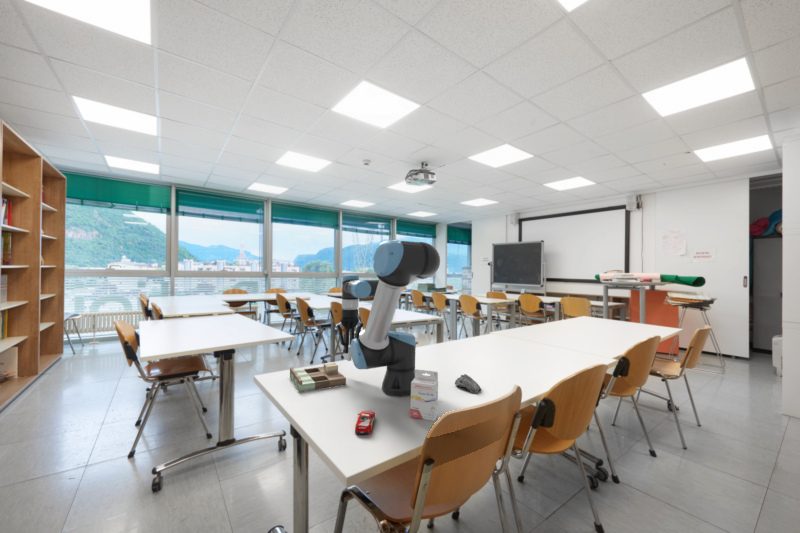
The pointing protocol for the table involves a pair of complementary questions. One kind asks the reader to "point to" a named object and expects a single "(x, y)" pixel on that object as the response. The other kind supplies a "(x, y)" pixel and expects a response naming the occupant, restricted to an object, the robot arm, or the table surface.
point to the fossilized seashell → (467, 383)
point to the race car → (365, 422)
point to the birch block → (330, 368)
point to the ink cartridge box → (424, 395)
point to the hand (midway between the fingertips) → (348, 360)
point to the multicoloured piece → (315, 379)
